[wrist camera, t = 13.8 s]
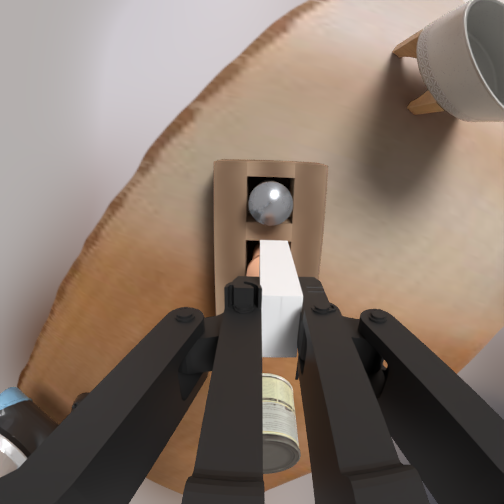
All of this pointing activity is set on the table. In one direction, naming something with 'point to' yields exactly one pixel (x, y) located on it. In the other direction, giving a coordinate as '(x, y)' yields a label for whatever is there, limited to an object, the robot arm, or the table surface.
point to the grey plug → (270, 203)
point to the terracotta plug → (254, 262)
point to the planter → (461, 62)
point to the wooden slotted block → (247, 228)
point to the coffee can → (278, 425)
